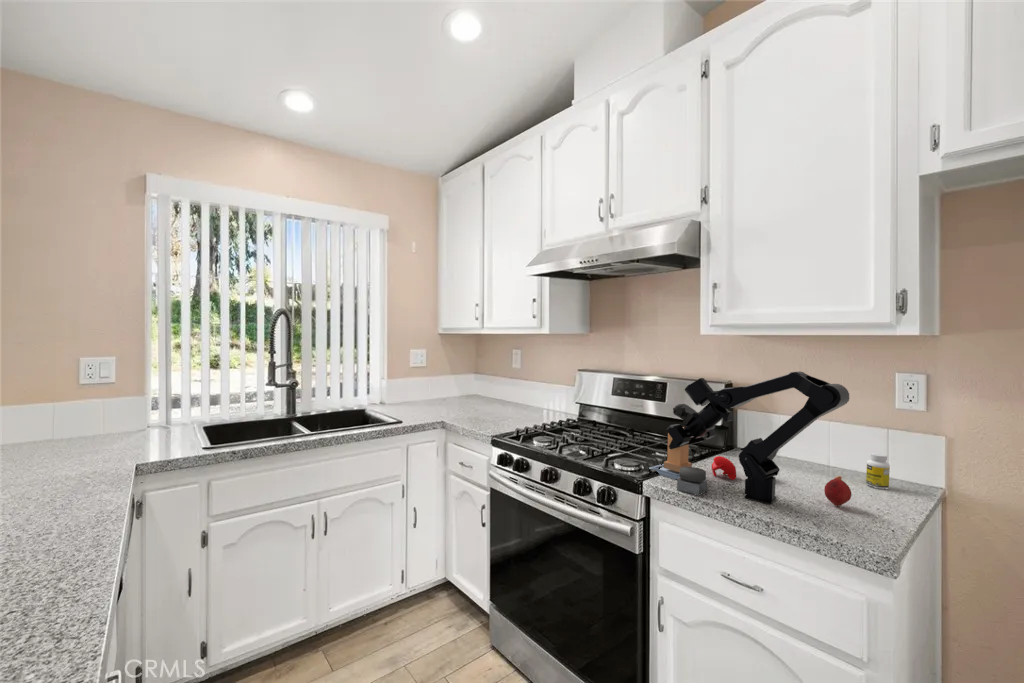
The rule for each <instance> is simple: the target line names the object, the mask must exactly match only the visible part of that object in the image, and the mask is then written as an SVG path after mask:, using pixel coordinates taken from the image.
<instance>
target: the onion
mask: <svg viewBox="0 0 1024 683" xmlns="http://www.w3.org/2000/svg"><path fill="white" fill-rule="evenodd" d="M842 478H843V477H842V476H841V475H837V476H836V477H834V478H833V479H831V480H829V481H828V482H827V483H825V485H824V489H823V490H824V495H825V497H826V499H827V500H828V501H829V502H830V503H832V504H833V505H834V506H835V507H841V506H842V505H844V504H846V503H848V502H849V501H850V500H851V498H852V491H851V488H850V487H849V485H848V484H847V483H846V482H845V481H844V480H842Z"/></svg>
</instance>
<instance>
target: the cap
mask: <svg viewBox="0 0 1024 683" xmlns="http://www.w3.org/2000/svg"><path fill="white" fill-rule="evenodd" d="M734 464H735V463H734V462H733V461H731V460H730V459H728V458H726V457H724V456H721V455H717V456H715V457H714V458H713V462H712V464H711V471H712V475H713V476H714V477H716V476H717V473H716V471H717V470H721V471H723V472H722V475H723V474H725V475H726V474H727V477H728V478H729V479H730V480H731V481H734V479H735V480H736V478H737V468H736V465H734Z"/></svg>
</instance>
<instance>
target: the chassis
mask: <svg viewBox="0 0 1024 683" xmlns="http://www.w3.org/2000/svg"><path fill="white" fill-rule="evenodd" d="M661 464H662V463H661ZM661 464H657V465H654V466H651V467H648V468H649V469H653V470H656V471H657V472H658V473H659V474H658V475H661V476H663V477H667V478H669V477H670V479H672V480H676V479H679V478H681V477H680V476H679V474H680V472H676V471H673V470H669V469H666V468H664V467H662V466H664V463H663V464H662V465H661ZM659 467H662V468H660V469H658V468H659Z"/></svg>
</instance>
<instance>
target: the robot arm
mask: <svg viewBox="0 0 1024 683" xmlns="http://www.w3.org/2000/svg"><path fill="white" fill-rule="evenodd" d="M791 389H795V390H797V391H798V392H800V393H801V394H802V395H804V396H805V397H808V398H807V400H806V402H805V403H804V406H802V408H800V410H798V411H797V412H796V413H794V415H792V416H791V417H790V418H788V419H787V420H786V421H785V422H784V423H783V424H781V425H780V426H779V427H778V428H777V429H775V430H774V431H772V433H771V434H769V435H768V436H767V437H766V438H764V439H763V438H762V437H759V438H756V439H751V440H750V441H749V442H748V443H747V444H746V445H745V446H744V447H742V448H740V453H739V454H738V460H739V464H740V465H741V466H742V469H743V472H744V476H745V477H746V479H745V480H744V494H745V495H744V498H745V499H748V500H752V501H756V502H760V503H765V504H768V505H771V504H773V502H775V501H776V500H778V499H777V498H778V497H777V496H776V476H778V474H779V472H780V468H779V467H778V465H777V464H776V463H775V461H774V458H775V457H776V455H777V454H778V453H779V451H780V449H781V448H783V447H784V446H785V445H787V444H788V443H789V442H791V441H792V440H793V439H794V438H796V437H797V436H798V435H799V434H801V433H802V432H803V431H804V430H805V429H806V428H809V427H810V426H811V425H812V424H813V423H814V422H815V421H817V420H819V418H821V417H823V416H825V415H828V414H831V413H832V412H833V411H835V410H838V409H839V408H842V407H844V406H845V405H846V404H848V403H849V402H850V392H849V390H848V388H847V387H845V386H843V385H842V384H839V383H831V382H830V383H829V382H828V381H825V380H823V379H820V378H817V377H815V376H811V375H810V374H807V373H805V372H803V371H791V372H789V373H786V374H784V375H780V376H778V377H773V378H771V379H766V380H763V381H760V382H757V383H756V382H755V383H753V384H750V385H744V386H735V387H725V388H720V389H719V390H713V388H712V387H711V386H710V385H709V384H708V382H707V379H705V377H700V378H698V379H697V380H695V381H693V382H692V383H689V384H688V385H687V386H685V388H684V391H685V393H686V394H687V395H688V397H689V398H690V399H691V400H692V402H693V403H694V405H695V406H701V407H703V408H702V409H700V411H696V410H695V409H693V408H692V407H691V406H689V405H688V404H685V403H680V404H677V405H675V407H673V408H672V410H673V411H672V413H673V415H675V416H676V417H677V418H679V419H681V420H682V423H683V425H684V426H683V425H682V424H678V423H676V424H670V425H669V426H667V427H666V432H667V434H668V433H669V434H670V436H671V437H672V441H671V443H670V445H669V448H670V449H674V448H678V447H681V446H685V445H688V444H689V446H690V445H693V444H697V443H701V442H704V441H705V439H706V440H710V439H713V438H714V437H715V436H716V430H715V428H716V427H717V426H716V425H717V424H718V423H720V422H721V421H722V420H724V421H725V422H732V421H734V416H733V414H734V412H733V411H730V410H728V409H734V408H739V407H742V406H744V405H746V404H748V403H751V402H752V401H754V400H755V399H757V398H761V397H763V396H764V397H765V396H770V395H773V394H775V393H780V392H784V391H788V390H791ZM704 437H705V438H704ZM688 442H689V443H688Z"/></svg>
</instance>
